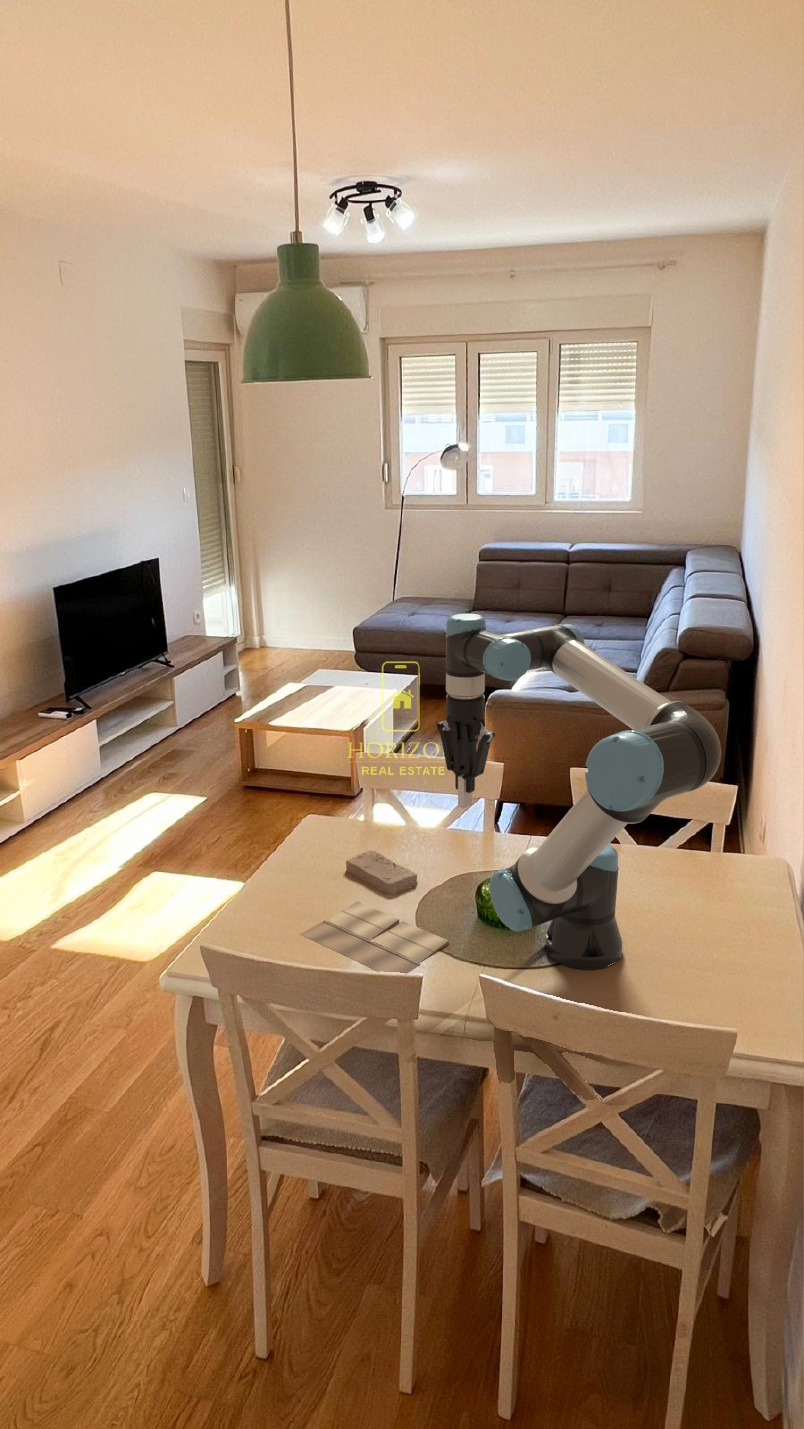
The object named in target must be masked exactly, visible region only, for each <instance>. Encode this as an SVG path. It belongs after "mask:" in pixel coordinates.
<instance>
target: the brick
mask: <svg viewBox="0 0 804 1429" xmlns="http://www.w3.org/2000/svg"><path fill="white" fill-rule="evenodd" d="M345 865H346V866H345V869H346V872H347V873H349V874H351V875H352V876H354V877H356V878H358V879H360V880H362V881H363V882H365V883H367V884H368V885H371V886H372V887H374V888H376V889H379V891H382V892H384V893H386V894H388V895H392V896H394V895H398V893H400V892H404V891H407V890H409V889H411V888H413V887H416V886H418V883H419V881H418V874H417V873H415V872H414V871H412V870H411V869H409V868H407V867H404V866H402V865H400V864H397V863H395V862H394V861H393V860H392V859H388V858H387V857H386V856H384V855H383V854H381V853H380V852H378V851H376V850H375V849H372V850H370V849H369V850H367V851H364V852H362V853H360V854H357V855H356V856H354V857H352V858H349V859H347V860H346V861H345Z"/></svg>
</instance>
